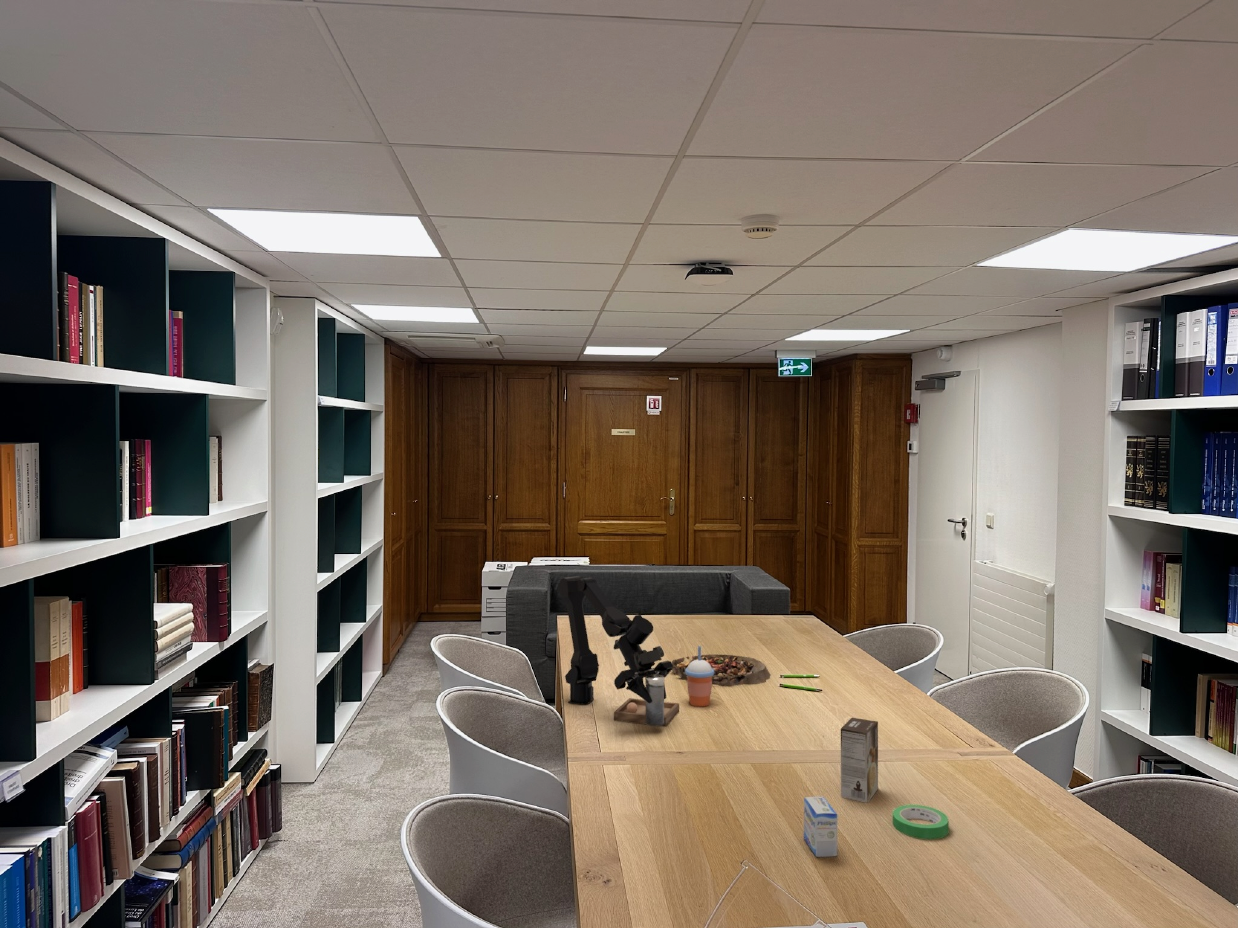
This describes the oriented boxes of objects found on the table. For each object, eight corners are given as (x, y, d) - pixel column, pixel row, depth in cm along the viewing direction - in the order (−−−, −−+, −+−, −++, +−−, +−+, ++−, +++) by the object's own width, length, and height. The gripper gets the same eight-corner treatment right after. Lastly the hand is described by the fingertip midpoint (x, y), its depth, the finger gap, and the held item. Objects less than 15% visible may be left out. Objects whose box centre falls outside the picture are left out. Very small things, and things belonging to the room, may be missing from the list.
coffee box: (851, 783, 193) (851, 716, 193) (878, 788, 189) (878, 720, 189) (839, 797, 185) (840, 727, 185) (868, 803, 182) (868, 732, 181)
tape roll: (883, 827, 171) (883, 815, 171) (907, 811, 178) (907, 799, 178) (934, 846, 163) (934, 832, 163) (957, 827, 171) (957, 815, 171)
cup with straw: (712, 708, 248) (712, 650, 248) (683, 707, 250) (683, 649, 250) (715, 699, 257) (715, 643, 257) (686, 698, 259) (686, 642, 258)
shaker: (642, 724, 228) (642, 678, 227) (648, 718, 233) (648, 673, 232) (661, 726, 226) (661, 680, 225) (666, 720, 231) (666, 675, 230)
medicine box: (803, 838, 166) (803, 796, 166) (824, 837, 166) (824, 795, 166) (815, 857, 158) (815, 813, 158) (837, 856, 158) (838, 812, 158)
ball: (624, 705, 240) (628, 699, 243) (625, 715, 241) (629, 709, 244) (635, 706, 239) (638, 700, 242) (636, 716, 240) (639, 710, 243)
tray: (614, 720, 238) (613, 711, 238) (629, 705, 251) (629, 697, 251) (666, 726, 233) (666, 717, 233) (679, 711, 246) (679, 703, 246)
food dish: (659, 685, 278) (658, 662, 278) (687, 663, 309) (687, 642, 309) (760, 692, 265) (759, 669, 265) (779, 668, 295) (778, 647, 296)
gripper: (620, 642, 226) (646, 691, 217) (669, 633, 237) (696, 678, 229) (603, 664, 232) (627, 712, 224) (651, 654, 244) (676, 699, 236)
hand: (658, 700), depth 228 cm, fingers closed on shaker, 5 cm apart
